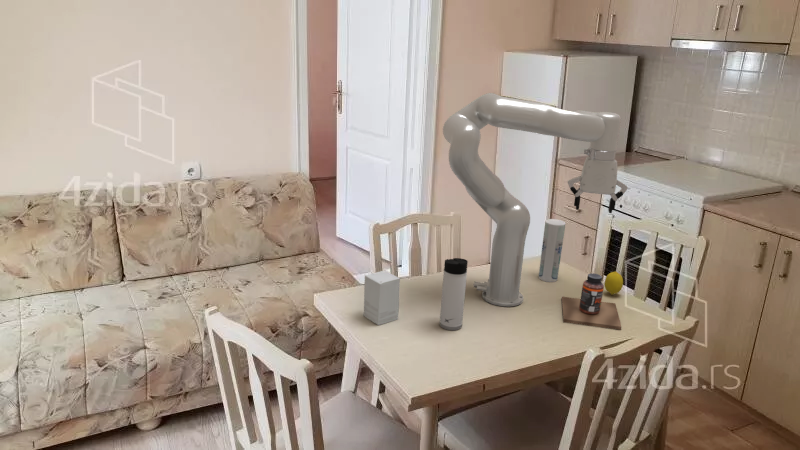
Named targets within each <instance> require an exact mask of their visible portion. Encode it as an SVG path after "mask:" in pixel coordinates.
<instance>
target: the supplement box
mask: <svg viewBox="0 0 800 450" xmlns="http://www.w3.org/2000/svg"><path fill="white" fill-rule="evenodd" d="M400 286H401V278H400V277H398V276H396V275H394V274H392V273H391V272H389V271H387V270H381V271H377V272H373V273H369V274H365V275H364V287H363V288H364V292H363V317H365V318H366V319H368V320H369V321H370V322H372V323H374V324H375V325H377V326H379V325H384V324H387V323H390V322H394V321H396V320H397V321H398V320H399V307H400V305H399V304H400Z"/></svg>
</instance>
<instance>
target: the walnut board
mask: <svg viewBox="0 0 800 450" xmlns="http://www.w3.org/2000/svg"><path fill="white" fill-rule="evenodd" d="M580 299H581V298H577V297H568V296H561V310H562V312H561V313H562V322H563V323H567V324H573V325H574V324H575V325H582V326H589V327H596V328H604V329H611V330H612V329H613V330H618V331H621V330H622V323H621V319H620V316H619V312H618V308H617V304H616V303H614V302H608V301H601V306H600V311H599V313H598V314H587V313H584V312H582V311H581V310H580V309H579V305H580Z"/></svg>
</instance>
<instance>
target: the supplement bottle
mask: <svg viewBox="0 0 800 450" xmlns="http://www.w3.org/2000/svg"><path fill="white" fill-rule="evenodd" d="M602 279H603V276H602V275H601V274H598V273H593V272H591V273H588V274H587V279H585V280H584V281H583V283H582V286H581V287H582V288H581V292H580V293H581V294H580V298H579V299H580V305H579V309H580V310H581V311H582V312H584V313H587V314H598V313H599V311H600V306H601V302H602V300H603V295H604V288H605V284H604V283H603V282H602Z"/></svg>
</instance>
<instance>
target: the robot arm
mask: <svg viewBox="0 0 800 450" xmlns="http://www.w3.org/2000/svg"><path fill="white" fill-rule="evenodd" d="M621 122H622V118H621V116H620V114H618V113H615V112H611V111H609V112H608V111H599V112H595V111H594V112H593V111H587V110H581V109H578V110H573V111H570V110H566V109H562V108H558V107H555V106H553V105H550V104H547V103H544V102H539V101H532V100H526V99H525V100H524V99H518V98H512V97H506V96H502V95H499V94H496V93H495V92H493V93H492V92H489V93H485V94H482V95H480V96H479V97H477V98H476V99H474V100H473V101H471V102H470V103H468V104H467V105H465V106H463V107H462V108H461V109H459V110H457V111H456V112H455V113H453V114H451V116H449V117H448V118H447V119H446V120H445V122H444V124H443V126H442V134H443V135H442V136H443V137H444V139H445V140H446V142H447V143H448V144H450V146H449V150H448V162H449V163H448V164H449V168H450V169H451V171H452V173H453V174H454V175H455V176H456V178H457V179H458V180H459V181H460V182H461V184H462V185H463V186H464V187H465V190H466V192H467V193H468V195H469V196H470V197H471V198H472V200H473V201H475V203H476V204H478V206H479V207H480V208H481V210H483V211H484V212H485V213H486V214H487V215H488V216H489V217H490V219H491V220H493V221H494V222H495V224H496V228H495V231H494V235H493V238H492V243H491V244H492V246H491V254H490V264H489V265H490V266H489V274H488V279H487V281H484V282H480V281H473V288H475V289H476V291H480V292H481V291H482V294H481V295H482V296H481V297H482V299H483V300H484V301H486V302H487V303H488V304H491V305H495V306H499V307H507V308H508V307H509V308H510V307H516V306H519V305H521V304H522V303H523V302H524V295H523V294H522V293H521V292H520V287H521V278H522V270H523V262H524V254H525V253H524V252H525V247H526V246H525V245H526V238H527V235H528V231H529V227H530V224H531V214H530V212H529V209H528V208H527V206H526V204H524V203H523V202H522V201H520V200H519V199H517V198H516V197H515V196H514V195H512V194H511V192H510V191H509V190H508V189H507V188H506V187H505V185H504V183H503V181H502V179H500V177H498V175H496V174H495V173H494V172H493V171H492V170H491V169H490V168H489V167H488V166H487V165H486V163H485V161H483V159H482V158H481V156H480V155H479V146H480V144H481V143H480V142H481V139H482V138H481V137H482V135H481V131H480V130H482V129H483V128H485V127H486V126H488V125H489V126H492V127H495V128H499V129H500V128H502V129H507V130H514V131H521V132H522V131H523V132H529V133H534V134H538V135H544V136H549V137H550V136H551V137H557V138H562V139H566V140H567V139H568V140H572V141H580V142H585V143H586V142H587V143H589V148H587V149H585V148H584V150H583V155H587V156H586V157H585V160H584V162H583V165H582V169H581V173H580V175H579V176H576V177H574V178H571V179H568V180H567V184H568V187H569V190H570V191H571V192H572V194H573V195H574V200H573V201H574V203H573V206H574V207H575V210H576V211H577V210H578V211H579V210H580V204H581V195H582V194H584V193H588V194H596V195H597V194H598V195H609V196H610V197H611V198H609V204H608V212H609V213H608V214H613V211H615V209H616V208H615V207H616V204H617V203H616V201H618V200H619V198H622V197H623V195H624V194H625V192H626V191H627V190H628V189H629V187H628V186H627V184H625V183H623V182H621V181H620V180H618V160H616V153H617V147H618V141H619V134H620V129H621ZM576 183H579V187H578V188H575V186H574V185H575V184H576ZM617 187H619V188H620V190H619V191H618V192H616V188H617ZM615 192H616V193H615Z"/></svg>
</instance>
